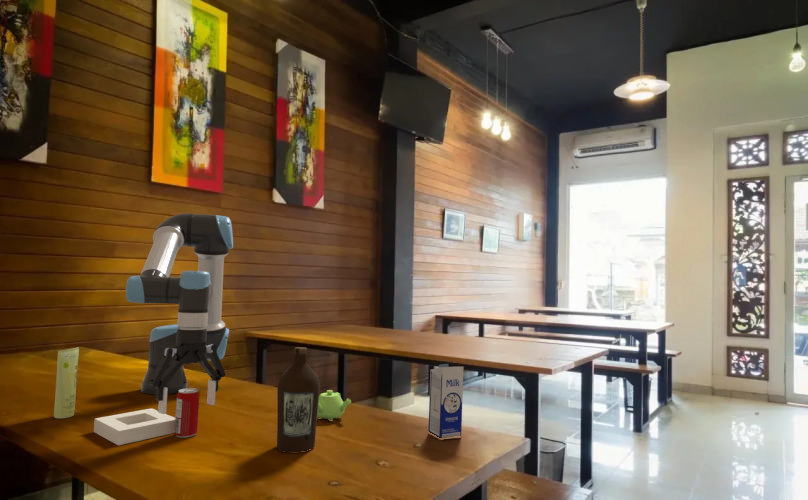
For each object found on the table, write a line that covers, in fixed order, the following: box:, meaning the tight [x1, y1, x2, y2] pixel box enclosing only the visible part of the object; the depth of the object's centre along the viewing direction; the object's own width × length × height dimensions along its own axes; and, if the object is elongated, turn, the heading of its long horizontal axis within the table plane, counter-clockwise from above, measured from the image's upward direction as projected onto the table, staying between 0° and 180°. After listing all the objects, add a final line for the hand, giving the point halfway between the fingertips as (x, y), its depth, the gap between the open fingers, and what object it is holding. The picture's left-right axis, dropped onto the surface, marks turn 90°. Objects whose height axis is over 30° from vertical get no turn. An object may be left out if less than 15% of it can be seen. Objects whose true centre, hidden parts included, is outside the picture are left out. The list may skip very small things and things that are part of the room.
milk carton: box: [427, 363, 465, 438], centre depth 142 cm, size 7×7×20 cm
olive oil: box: [276, 346, 321, 453], centre depth 128 cm, size 11×11×25 cm
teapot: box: [317, 389, 352, 421], centre depth 155 cm, size 11×12×8 cm
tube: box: [53, 346, 80, 419], centre depth 146 cm, size 6×5×20 cm
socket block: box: [93, 407, 176, 446], centre depth 135 cm, size 15×15×4 cm
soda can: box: [174, 387, 200, 439], centre depth 134 cm, size 6×6×12 cm
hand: (187, 408), depth 134 cm, fingers open, 13 cm apart
